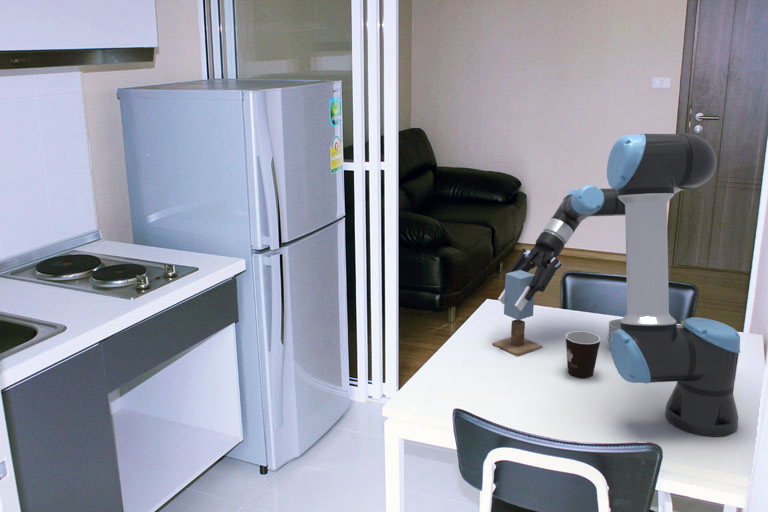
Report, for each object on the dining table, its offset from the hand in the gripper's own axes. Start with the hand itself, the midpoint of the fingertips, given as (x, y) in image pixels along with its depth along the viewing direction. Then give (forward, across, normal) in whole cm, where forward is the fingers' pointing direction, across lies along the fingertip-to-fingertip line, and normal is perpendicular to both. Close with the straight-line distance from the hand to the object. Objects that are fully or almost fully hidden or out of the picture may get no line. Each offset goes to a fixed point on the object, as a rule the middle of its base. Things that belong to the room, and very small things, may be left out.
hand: (509, 304), depth 199 cm
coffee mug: (+6, -22, -13) cm, 26 cm away
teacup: (-9, -22, -28) cm, 37 cm away
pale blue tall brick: (0, 0, -5) cm, 5 cm away
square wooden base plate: (+7, 0, -12) cm, 14 cm away
